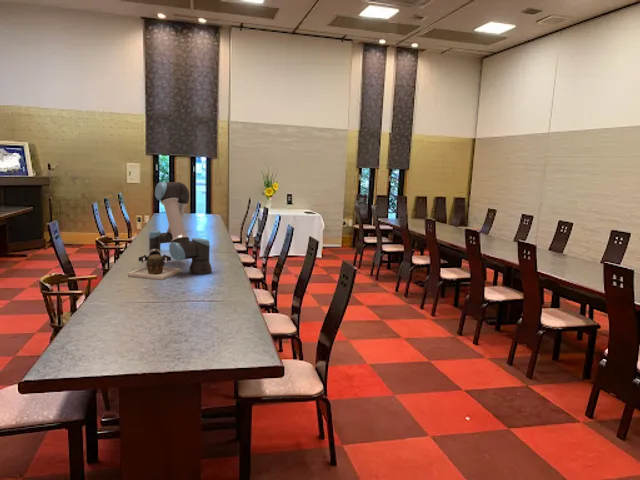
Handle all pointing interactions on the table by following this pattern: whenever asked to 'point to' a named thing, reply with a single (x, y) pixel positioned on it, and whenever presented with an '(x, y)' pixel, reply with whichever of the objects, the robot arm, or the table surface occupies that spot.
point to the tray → (144, 274)
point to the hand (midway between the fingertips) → (155, 261)
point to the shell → (155, 264)
